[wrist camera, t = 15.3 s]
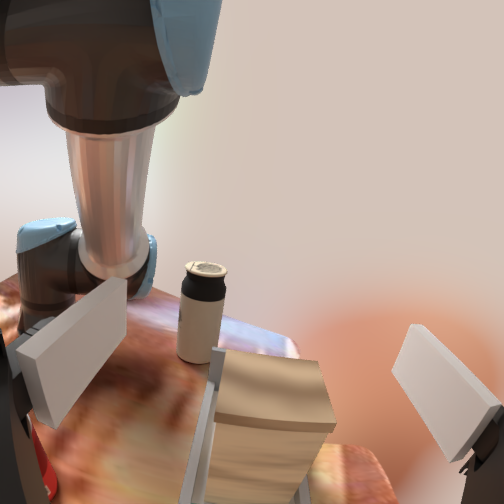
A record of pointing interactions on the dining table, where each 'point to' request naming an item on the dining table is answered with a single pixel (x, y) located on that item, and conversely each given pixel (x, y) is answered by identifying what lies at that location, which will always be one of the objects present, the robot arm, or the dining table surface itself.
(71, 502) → the dining table surface
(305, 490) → the bay
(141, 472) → the dining table surface
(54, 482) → the canned food
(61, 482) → the dining table surface
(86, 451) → the dining table surface
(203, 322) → the travel mug
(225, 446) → the wooden block
